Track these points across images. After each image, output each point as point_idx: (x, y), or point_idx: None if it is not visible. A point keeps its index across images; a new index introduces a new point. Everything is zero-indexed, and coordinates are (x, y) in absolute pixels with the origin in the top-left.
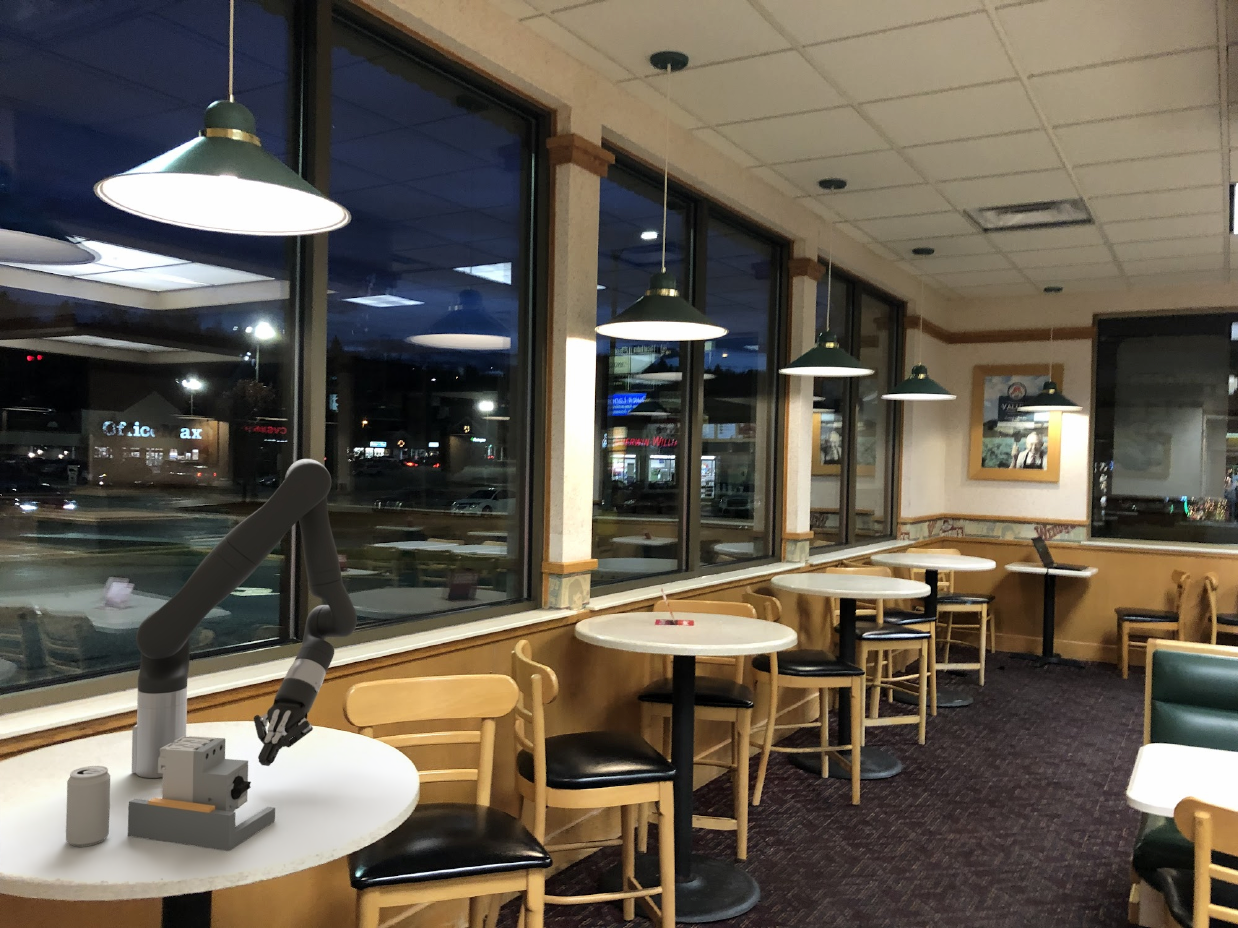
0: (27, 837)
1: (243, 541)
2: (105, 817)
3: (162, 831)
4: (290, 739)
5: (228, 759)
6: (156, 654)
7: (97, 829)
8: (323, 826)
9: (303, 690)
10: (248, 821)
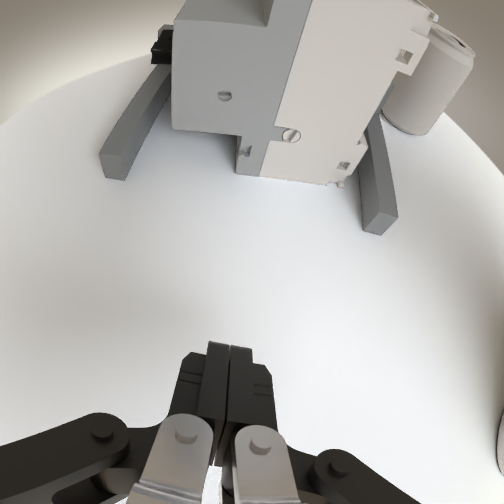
0: (463, 139)
1: None
2: (394, 83)
3: None
4: (98, 499)
5: (250, 24)
6: None
7: None
8: (7, 170)
9: None
10: (145, 94)
